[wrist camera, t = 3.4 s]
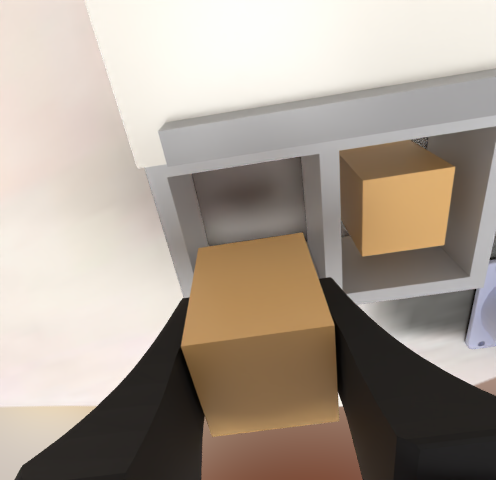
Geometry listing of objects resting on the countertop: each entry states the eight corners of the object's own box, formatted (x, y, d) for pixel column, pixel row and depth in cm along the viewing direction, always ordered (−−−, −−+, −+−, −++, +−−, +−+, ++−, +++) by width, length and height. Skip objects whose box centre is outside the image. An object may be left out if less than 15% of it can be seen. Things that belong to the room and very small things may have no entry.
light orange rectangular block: (302, 232, 13) (334, 325, 9) (309, 312, 15) (339, 420, 11) (198, 247, 14) (180, 346, 9) (218, 325, 16) (212, 436, 11)
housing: (477, -160, 14) (604, -264, 9) (431, 234, 23) (483, 287, 18) (109, -89, 15) (47, -150, 10) (201, 267, 24) (192, 326, 19)
